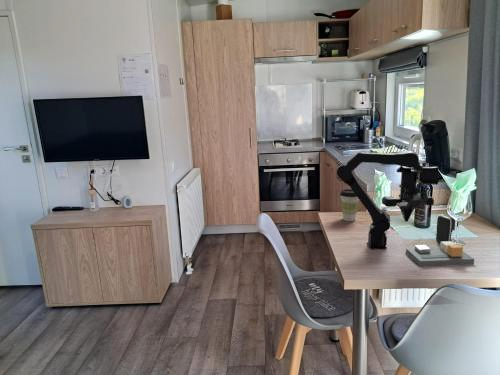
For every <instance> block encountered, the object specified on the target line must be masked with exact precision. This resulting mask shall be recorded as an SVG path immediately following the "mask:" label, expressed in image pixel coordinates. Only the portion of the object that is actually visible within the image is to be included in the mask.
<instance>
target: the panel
mask: <svg viewBox="0 0 500 375" xmlns="http://www.w3.org/2000/svg"><path fill="white" fill-rule="evenodd" d="M429 248H430V253H421V254H419V253H418V252H417V251H416V250H415V247H412V248H411V247H410V248H406V250H405V254H406V255H407V256H408V257H409V258H410V259H412V260H413V261H414V262H415V263H416V264H417V265H418V266H419V267H429V266H430V267H431V266H432V267H433V266H435V267H436V266H454V265H455V266H459V265H461V266H462V265H474V263H475V258H473V257H472V256H470V255H469V254H467V253H466V252H465V251H463V253H462V256H456V257H451V256H450V255H449V254H447V253H445V252H444V251H442V250H441V249H440V246H436V247H435V246H434V247H433V246H432V247H429Z"/></svg>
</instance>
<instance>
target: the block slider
mask: <svg viewBox="0 0 500 375" xmlns="http://www.w3.org/2000/svg"><path fill="white" fill-rule="evenodd" d="M454 244H455V243H454ZM463 252H464V247H463V246H462V245H461V244H457V243H456V244H455V245H448V249H447V254H449V255H450V256H451V257H456V256H462V253H463Z"/></svg>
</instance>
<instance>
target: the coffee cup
mask: <svg viewBox="0 0 500 375" xmlns="http://www.w3.org/2000/svg"><path fill="white" fill-rule="evenodd" d="M339 195H340V201H341V202H340V203H341V214H342V220H343V221H346V222H354V221H356V218H357V214H358V208H359V202H360V200H359V198H358V197H357V196H356V194H355V193H354V192H353V190H352V189H351V188H345V189H342V190H341V191H340V193H339Z"/></svg>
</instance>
